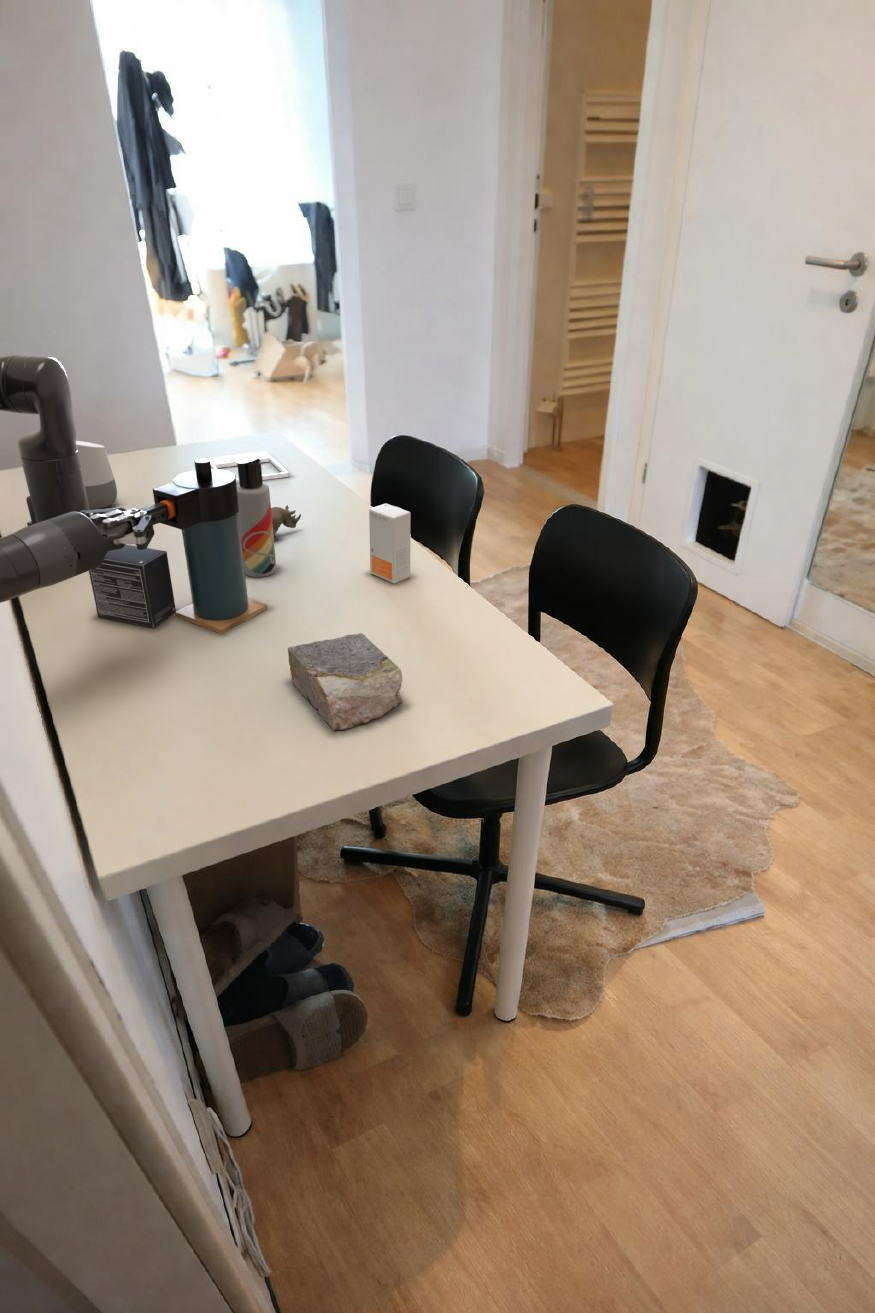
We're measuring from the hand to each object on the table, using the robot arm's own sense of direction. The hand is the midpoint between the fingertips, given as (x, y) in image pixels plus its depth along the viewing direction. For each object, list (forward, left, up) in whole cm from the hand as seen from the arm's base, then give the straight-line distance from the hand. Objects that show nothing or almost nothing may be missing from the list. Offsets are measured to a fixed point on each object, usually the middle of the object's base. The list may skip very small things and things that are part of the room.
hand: (164, 510), depth 115 cm
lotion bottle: (0, +24, -19) cm, 30 cm away
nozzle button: (0, +1, -1) cm, 2 cm away
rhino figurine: (-5, +38, -20) cm, 43 cm away
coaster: (+2, +8, -19) cm, 21 cm away
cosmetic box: (+22, +30, -20) cm, 42 cm away
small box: (-10, +3, -19) cm, 22 cm away
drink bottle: (+2, +6, -18) cm, 20 cm away
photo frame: (-30, +73, -19) cm, 81 cm away
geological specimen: (+30, -7, -20) cm, 37 cm away
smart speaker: (-47, +41, -19) cm, 65 cm away
